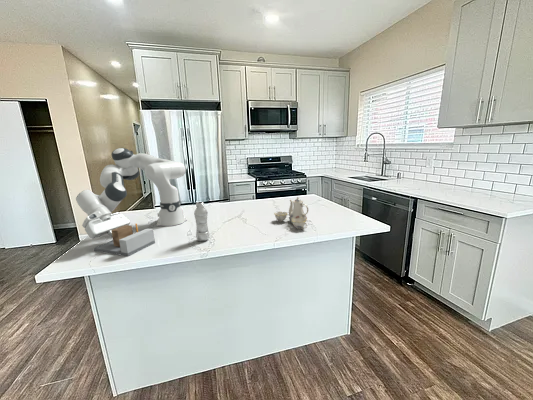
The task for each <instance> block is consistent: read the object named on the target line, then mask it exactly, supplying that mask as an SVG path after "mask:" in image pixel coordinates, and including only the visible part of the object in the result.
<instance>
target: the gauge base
mask: <svg viewBox="0 0 533 400" xmlns="http://www.w3.org/2000/svg"><path fill="white" fill-rule="evenodd" d="M134 233H135V234H134ZM134 233H133V234H132V235H130V236H127V237H125V238H122V239H120V240H119V242H120V247H117V246H114V243H113V239H112V240H110V241H107V242H105V243H103V244H100V245H98V246H95V247H93V251H94V252H99V253H105V254H112V255H119V256H124V257H131V256H132V255H135V254H136V253H138V252H140V251H142V250H144V249H146V248H147V247H150V246H152V245H154V244H156V238H155V232H154V229H153V228H145V229H142V230H138V232H137V231H136V232H134Z"/></svg>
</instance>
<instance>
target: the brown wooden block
mask: <svg viewBox="0 0 533 400" xmlns="http://www.w3.org/2000/svg"><path fill="white" fill-rule="evenodd" d="M111 232H112V236H111V238H112V240H113V243H114V246H117V247H120V242H119V240H120V239H122V238H125V237H127V236H130V235H132V234H135V233H136V232H133V225H130V224H129V225H125V226H122V227H119V228H116V229H113V230H111Z"/></svg>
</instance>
